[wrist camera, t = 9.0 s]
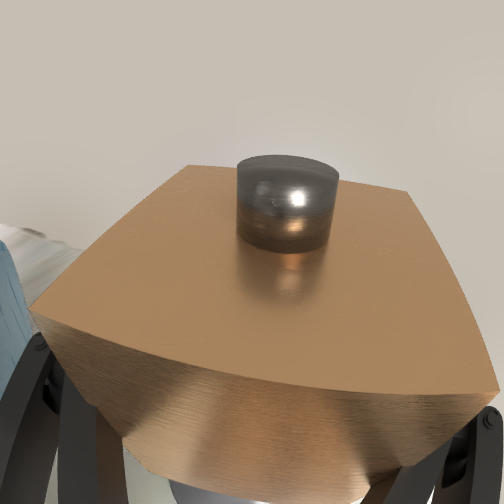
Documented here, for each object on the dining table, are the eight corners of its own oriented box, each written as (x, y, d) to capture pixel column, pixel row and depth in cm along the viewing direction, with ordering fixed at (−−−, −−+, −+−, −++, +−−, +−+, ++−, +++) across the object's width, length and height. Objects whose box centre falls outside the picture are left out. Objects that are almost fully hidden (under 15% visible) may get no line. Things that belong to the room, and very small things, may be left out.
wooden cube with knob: (148, 471, 11) (-1, 241, 4) (203, 341, 18) (186, 127, 11) (339, 509, 9) (551, 325, 3) (348, 365, 17) (414, 154, 10)
